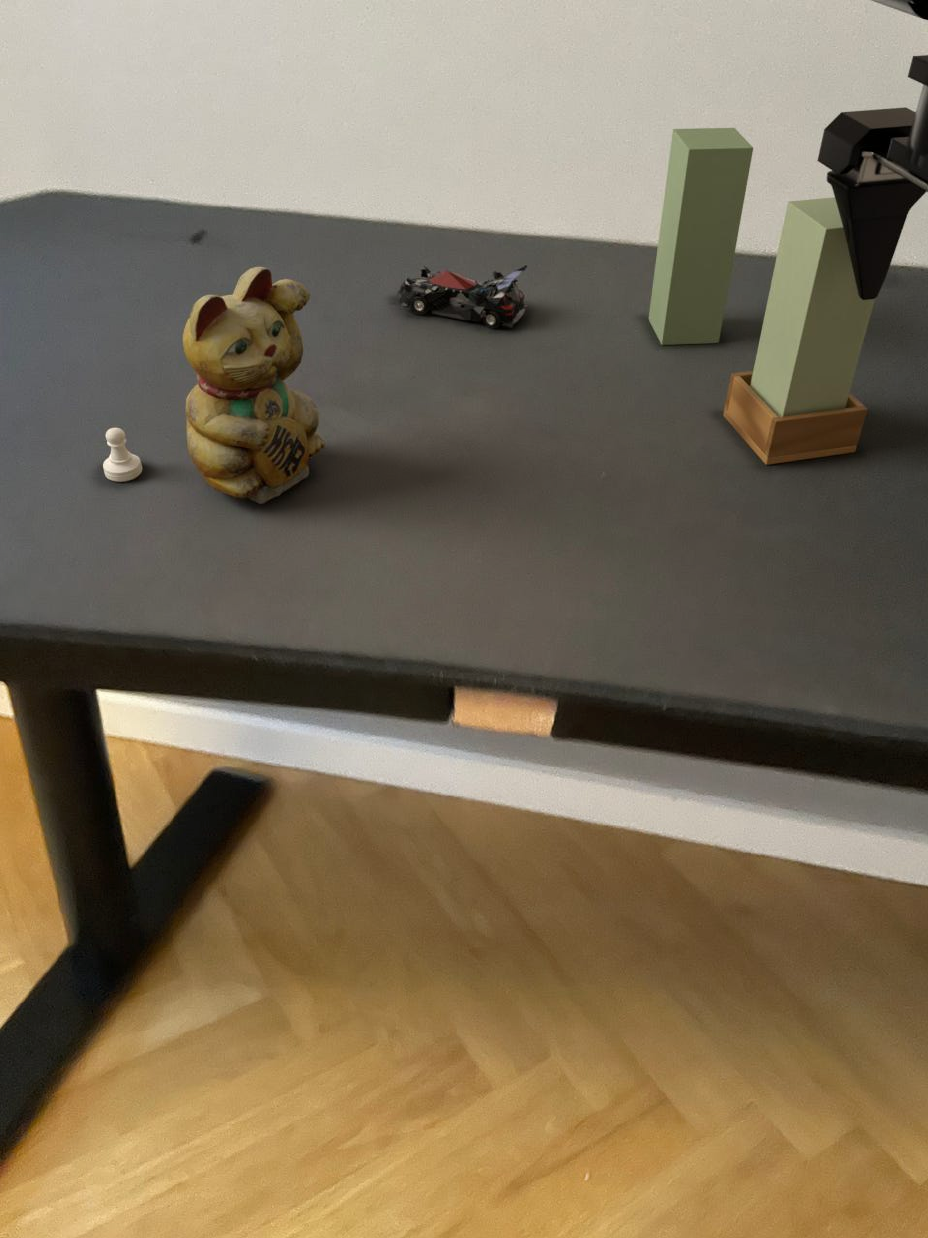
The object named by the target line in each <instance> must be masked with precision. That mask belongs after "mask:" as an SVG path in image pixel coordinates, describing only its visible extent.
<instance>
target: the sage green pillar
mask: <svg viewBox="0 0 928 1238" xmlns="http://www.w3.org/2000/svg"><path fill="white" fill-rule="evenodd" d="M781 229H782V230H781V233H780V239H779V243H778V249H777V253H776V258H775V264H774V269H773V274H772V278H771V283H770V289H769V293H768V298H767V302H766V308H765V312H764V317H763V322H762V327H761V332H760V336H759V341H758V346H757V351H756V356H755V360H754V366H753V370H752V371H753V375H752V380H751V385H750V387H751V389H752V390H753V391H754V392H755V393H756V394H757V395H758V396H759V397H760V398H761V399H762V400H763V401H764V402H765V403H766V404H767V405H768V407H769V408H770V409H771V410H772V411H773V412H774V413H775V414H776V415H777V416H778V418H779V417H786V416H793V415H801V414H808V413H816V412H823V411H831V410H838V409H845V407H846V403H847V400H848V396H849V392H850V393H851V389H852V384H853V381H854V378H855V374H856V369H857V367H858V362H859V359H860V356H861V352H862V349H863V344H864V341H865V337H866V334H867V330H868V327H869V322H870V319H871V316H872V312H873V308H874V304H875V301H876V298H875V299H870V300H862V299H861V298H860V297H859V295H858V290H857V286H856V281H855V277H854V272H853V268H852V263H851V259H850V254H849V249H848V245H847V244H848V243H847V241H846V237H845V232H844V229H843V225H842V221H841V218H840V214H839V210H838V207H837V203H836V200H835V196H833V197H824V198H813V199H801V200H791V201H790V200H789V201H788V202H787V206H786V209H785V215H784V219H783V225H782V228H781Z"/></svg>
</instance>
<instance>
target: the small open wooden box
mask: <svg viewBox="0 0 928 1238" xmlns="http://www.w3.org/2000/svg"><path fill="white" fill-rule="evenodd" d="M752 375H753V370H748V371H742V372H734V373H733V372H732V373H730V377H729V383H728V388H727V393H726V399H725V404H724V409H723V414H722V415H723V417H724V419H725V420H726V421H727V422H728V423H729V424H730V425H731V427H732V428H733V429H734V430H735V431H736V432H737V434H739V436H740V437H741V438H742V439H743V441H744V442H745V443H746V444H747V445H748V446H749V447H750V449H752V451H753V452H754V453H755V455H757V456H758V458H759V459H760V460H761V461H762V462H763V463H764V465H766V466H768V465H775V464H782V463H788V462H789V463H790V462H796V461H804V460H811V459H817V458H824V457H832V456H837V455H845V454H852V453H855V452H856V450H857V447H858V446H857V445H858V444H859V440H860V436H861V433H862V430H863V426H864V423H865V419H866V417H867V413H868V408H867V407H866V406H865V405H864V404H863V403H862V402H861V401H860V400H859V399H858V398H857V397H855V395H853V394H852V393H851V391H850V392H849V396H848V400H847V403H846V407H845V409H838V410H831V411H823V412H816V413H808V414H801V415H793V416H786V417H779V418H778V416H777V415H776V414H775V413H774V412H773V411H772V410H771V409H770V408H769V407H768V405H767V404H766V403H765V402H764V401H763V400H762V399H761V398H760V397H759V396H758V395H757V394H756V393H755V392H754V391H753V390H752V389H751V387H750V385H751V380H752Z"/></svg>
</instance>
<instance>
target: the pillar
mask: <svg viewBox="0 0 928 1238" xmlns="http://www.w3.org/2000/svg"><path fill="white" fill-rule="evenodd" d="M753 152H754V147H753V146H752V145H751V144H750V143H749V141H748V140H747V139H746V138H745V137H744V136H743V135H742V133H740V132H739V131H738V130H737V129H736V127H707V128H706V127H701V128H673V129H672V134H671V141H670V150H669V158H668V165H667V174H666V181H665V187H664V197H663V204H662V212H661V220H660V227H659V234H658V243H657V249H656V250H657V251H656V257H655V265H654V273H653V279H652V289H651V295H650V305H649V312H648V321H649V323H650V326H651V327H652V329H653V331H654V333H655V335H656V337H657V339H658V341H659V343H660V345H661V346H670V345H671V346H673V345H674V346H675V345H697V344H698V345H700V344H701V345H702V344H703V345H704V344H719V342H720V339H721V333H722V327H723V326H722V325H723V321H724V315H725V310H726V304H727V299H728V293H729V288H730V281H731V277H732V276H731V275H732V270H733V264H734V260H735V253H736V247H737V243H738V238H739V237H738V236H739V231H740V226H741V221H742V214H743V208H744V202H745V199H746V191H747V186H748V180H749V174H750V171H751V170H750V169H751V163H752V158H753V154H754V153H753Z"/></svg>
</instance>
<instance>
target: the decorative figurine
mask: <svg viewBox="0 0 928 1238" xmlns="http://www.w3.org/2000/svg"><path fill="white" fill-rule="evenodd" d="M310 296H311V294H310V292H309V290H308V289H307V287H306V285H304V284H302V283H300V282H298V281H295V280H292V279H289V278H284V279H279V280H278V281H276V282H275V283H273V278H272V272H271V270H270V269H269V268H267V267H264V266H255V267H252V268H249V269H248V270H246V271H245V272H244V273H243V274H241V276H240V277H239V279H238V281H237V283H236V286H235V288H234V291H233V293H232V294H226V295H221V296H220V295H218V294H206V295H204V296H202V297H200V298H199V299H198V300H196V301H195V302H194V304H193V306H192V308H191V310H190V314H189V318H188V319H187V321H186V323H185V326H184V329H183V334H182V339H181V340H182V346H183V351H184V355H185V357H186V360H187V361H188V364H189V365H190V367H191V368H192V369H193V371H194V372H195V374H196V377H197V378H196V381H197V383H196V385H195V386H194V387H193V388H192V389H191V390H190V392H189V394H187V397H186V400H185V415H186V440H187V441H186V442H187V449H188V453H189V456H190V459H191V461H192V463H193V465H194V466H195V468H196V469H197V471H198V473H199V475H200V476H201V477H202V478H203V480H204V481H205V482H206V483H207V484H208V485H209V486H210V487H211V488H213V490H214V489H215V490H217V491H218V492H221V493H223V494H225V495H229V496H231V497H234V498H237V499H246V498H248V499H250V500H251V501H254V502H256V503H257V504H260V505H261V504H265V503H266V502H268V501H270V500H271V499H274V498H275V497H280V496H281V494H282V493H284V492H285V491H287V490H289V489H290V488H292V487H294V486H295V485H297V484H298V483H299V482H301V481H302V480H304V479H306V478H307V477H309V474H310V468H309V464H308V463H309V459H311V458H314V457H315V456H316V455H317V454H319V453H320V451H321V450H323V449H324V448H325V446H326V441H325V439H324V438H323V436H322V435H320V434H319V433H318V432H317V431H318V427H319V425H320V424H319V423H320V419H319V417H320V416H319V411H318V407H317V405H316V403H315V402H314V401H313V399H312V398H311V397H310V396H309V395H307V394H305V393H303V392H301V391H297V390H292V389H290V388H289V387H288V386H287V384H286V382H285V380H286V379H288V378H289V377H290V376H292V374H293V373H294V372H296V370H297V368H298V367H299V366H300V364H301V363H302V359H303V354H304V342H303V337H302V333H301V330H300V327H299V325H298V323H297V319H296V317H295V315H294V314H295V312H298V311H301V310H302V309H304V307H305V306H306V305H307V304H308V302H309V300H310Z"/></svg>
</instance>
